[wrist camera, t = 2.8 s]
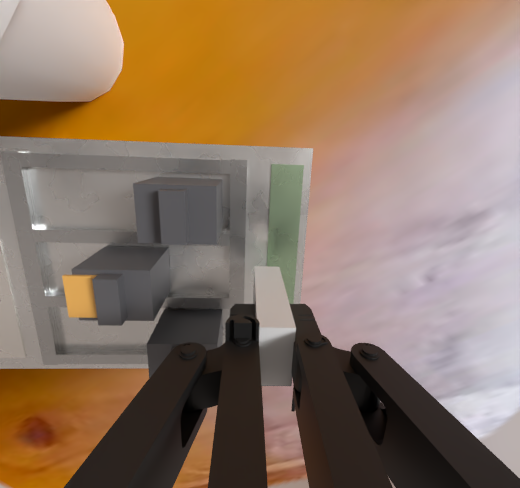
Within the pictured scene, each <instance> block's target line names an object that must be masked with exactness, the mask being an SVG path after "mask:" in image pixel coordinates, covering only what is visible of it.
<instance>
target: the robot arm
mask: <svg viewBox="0 0 520 488" xmlns="http://www.w3.org/2000/svg"><path fill="white" fill-rule="evenodd" d="M292 378H293V383H294V388H293V400H292V411H294V410H296V416H297V421H298V427H299V432H300V438H301V443H302V449H303V455H304V460H305V466H306V471H307V477H308V482H309V488H392V485H391V483H390V480H391V481H392V483H393V484H394V486H395V487H396V488H520V478H518V477H517V476H516V475H515V474H514V473H513V472H512V471H511V470H510V469H509V468H508V467H507V466H506V465H505V464H504V463H503V462H502V461H500V460H499V459H498V458H497V457H496V456H495V455H494V454H493V453H492V452H491V451H490V450H489V449H487V448H486V446H485V445H483V444H482V443H481V442H480V441H479V440H478V439H477V438H476V437H475V436H474V435H473V434H472V433H471V432H470V431H469V430H468V429H466V428H465V427H464V426H463V425H462V424H461V423H460V422H459V421H458V420H457V419H456V418H455V417H454V416H453V415H452V414H451V413H449V412H448V411H447V410H446V409H445V408H444V407H443V406H442V405H441V404H440V403H439V402H438V401H437V400H436V399H435V398H434V397H432V396H431V395H430V394H429V393H428V392H427V391H426V390H425V389H424V388H423V387H422V386H421V385H420V384H419V383H418V382H417V381H415V380H414V379H413V378H412V377H411V376H410V375H409V374H408V373H407V372H406V371H405V370H404V369H403V368H402V367H401V366H400V365H399V364H397V363H396V362H395V361H394V360H393V359H392V358H391V357H390V356H389V355H388V354H387V353H386V352H385V351H384V350H382V349H381V348H379V347H377V346H375V345H373V344H368V343H358V344H355V345H354V346H353V347H352V348H351V352H350V351H345V350H341V349H337V348H334V347H332V345H331V343H330V341H329V340H328V339H327V338H326V337H325V336H323V335H321V333H320V330H319V328H318V325H317V323H316V321H315V318H314V316H313V313H312V310H311V309H310V308H309V307H308V306H307V305H306V304H289V300H288V297H287V293H286V289H285V286H284V282H283V278H282V275H281V271H280V267H268V266H254V288H253V304H234V306H233V307H232V308H231V309H230V318H228V319H227V321H226V323H225V343H224V344H223V345H221V346H220V347H218V348H215V349H211V350H207V351H206V349H205V347H204V346H203V345H201V344H199V343H196V342H188V343H183V344H180V345H178V346H176V347H175V348H174V349H173V350H172V351H171V352H170V353H169V354H168V356H167V357H166V358H165V359H164V361H163V362H162V363H161V365H160V366H159V367H158V368H157V370H156V371H155V372H154V373H153V375H152V376H151V377H150V379H149V380H148V381H147V382H146V384H145V385H144V386H143V387H142V389H141V390H140V391H139V393H138V394H137V395H136V396H135V398H134V399H133V400H132V401H131V403H130V404H129V405H128V407H127V408H126V409H125V410H124V412H123V413H122V414H121V415H120V417H119V418H118V419H117V421H116V422H115V423H114V424H113V426H112V427H111V428H110V429H109V431H108V432H107V433H106V435H105V436H104V437H103V438H102V440H101V441H100V442H99V443H98V445H97V446H96V447H95V449H94V450H93V451H92V452H91V454H90V455H89V456H88V458H87V459H86V460H85V461H84V463H83V464H82V465H81V466H80V468H79V469H78V470H77V472H76V473H75V474H74V475H73V477H72V478H71V479H70V480H69V482H68V483H67V484H66V486H65V487H64V488H172V487H173V485H174V483H175V481H176V479H177V476H178V474H179V472H180V470H181V468H182V465H183V463H184V461H185V459H186V457H187V454H188V452H189V450H190V448H191V446H192V444H193V441H194V439H195V437H196V435H197V433H198V430H199V428H200V426H201V424H202V422H203V419H204V417H205V415H206V413H207V408H209V407H212V406H216V405H218V407H217V416H216V424H215V432H214V441H213V449H212V458H211V466H210V474H209V483H208V488H267V471H266V454H265V437H264V420H263V403H262V386H291V384H292ZM380 401H381V402H382V403H383V404H382V403H381V402H380ZM387 475H388V476H387ZM388 477H389V478H390V480H389V478H388Z"/></svg>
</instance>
